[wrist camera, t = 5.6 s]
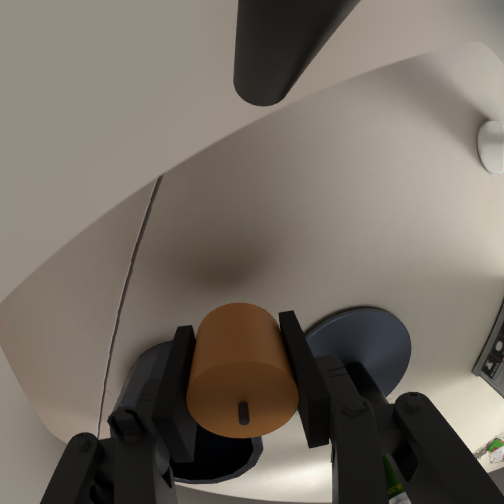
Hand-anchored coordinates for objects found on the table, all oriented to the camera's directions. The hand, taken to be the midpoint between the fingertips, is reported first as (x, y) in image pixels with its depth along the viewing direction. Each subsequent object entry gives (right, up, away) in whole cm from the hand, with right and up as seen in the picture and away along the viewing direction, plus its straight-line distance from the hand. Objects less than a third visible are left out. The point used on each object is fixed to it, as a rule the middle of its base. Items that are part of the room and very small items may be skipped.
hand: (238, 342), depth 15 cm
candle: (0, 0, 0) cm, 0 cm away
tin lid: (+10, -7, +12) cm, 18 cm away
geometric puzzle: (+57, -40, +25) cm, 74 cm away
